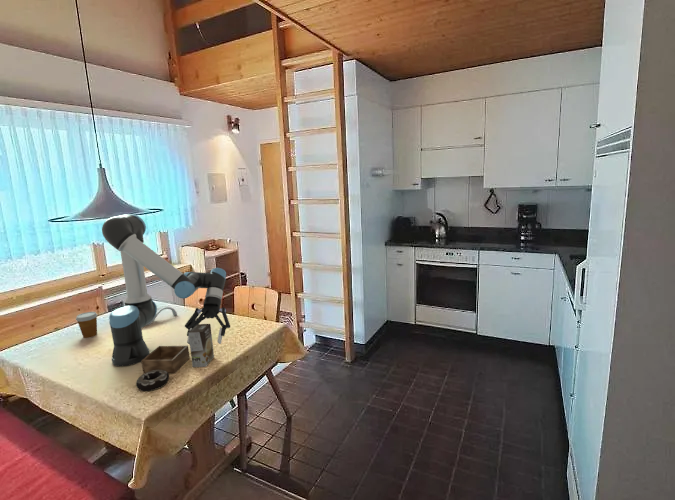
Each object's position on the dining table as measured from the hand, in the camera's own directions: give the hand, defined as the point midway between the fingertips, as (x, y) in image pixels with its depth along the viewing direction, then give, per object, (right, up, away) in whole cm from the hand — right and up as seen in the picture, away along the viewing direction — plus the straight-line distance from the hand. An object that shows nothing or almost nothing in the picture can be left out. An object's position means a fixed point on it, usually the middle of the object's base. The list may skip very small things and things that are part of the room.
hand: (203, 343), depth 160 cm
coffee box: (-1, -9, +1) cm, 9 cm away
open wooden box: (-16, -10, 0) cm, 19 cm away
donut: (-15, -13, -15) cm, 24 cm away
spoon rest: (-48, -1, +54) cm, 72 cm away
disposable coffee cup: (-74, -5, +36) cm, 83 cm away
